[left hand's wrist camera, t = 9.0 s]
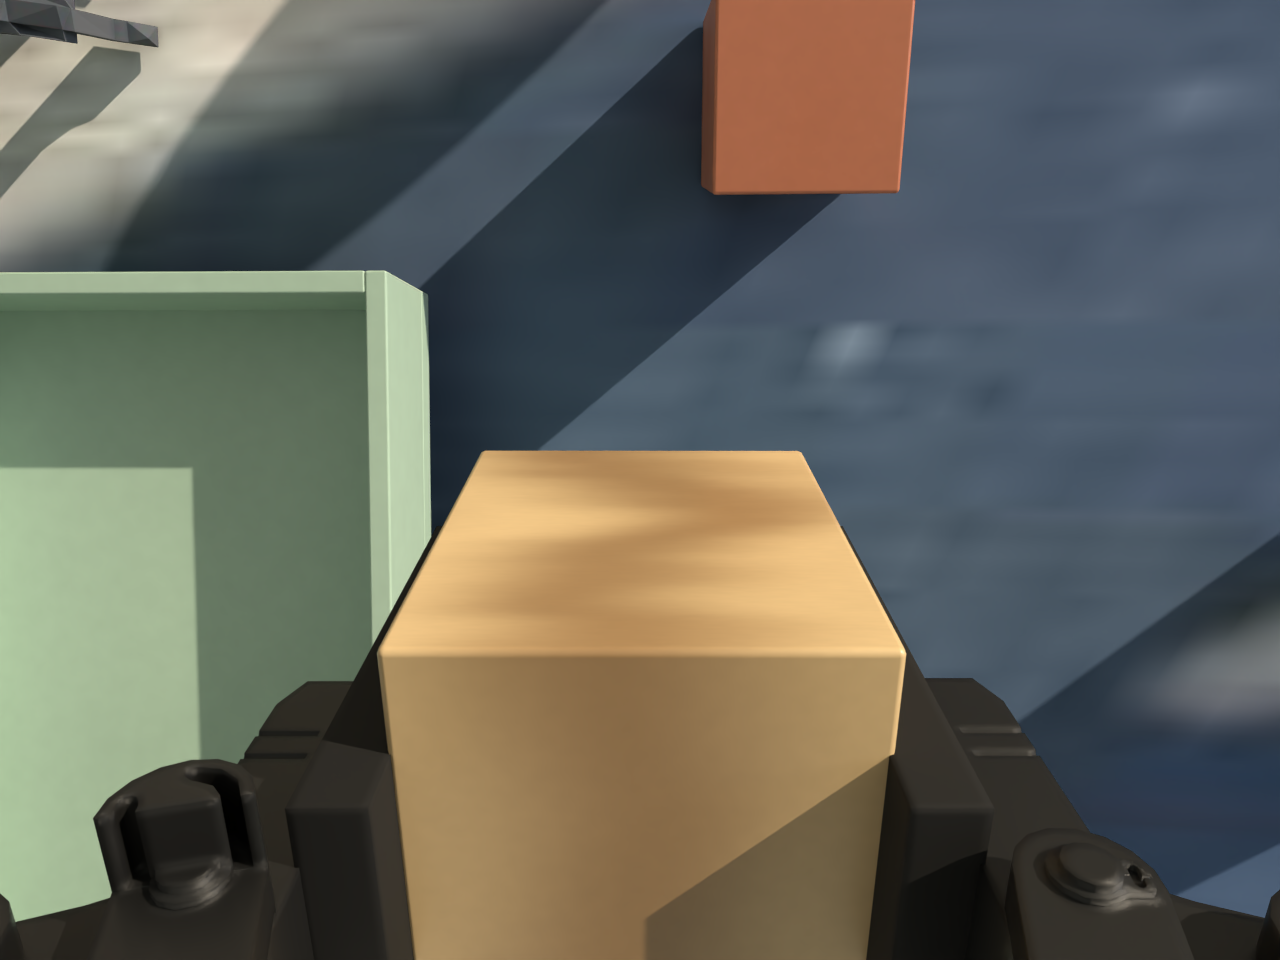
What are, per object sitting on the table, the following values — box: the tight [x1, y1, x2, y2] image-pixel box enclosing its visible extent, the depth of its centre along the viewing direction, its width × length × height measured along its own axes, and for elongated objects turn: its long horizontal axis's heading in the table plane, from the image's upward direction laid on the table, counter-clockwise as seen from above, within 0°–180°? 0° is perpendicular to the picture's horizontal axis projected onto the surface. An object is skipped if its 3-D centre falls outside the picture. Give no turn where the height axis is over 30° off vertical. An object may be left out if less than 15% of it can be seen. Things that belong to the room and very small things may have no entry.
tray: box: [0, 271, 431, 922], centre depth 25 cm, size 15×28×9 cm, turn 0°
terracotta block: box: [701, 0, 915, 195], centre depth 26 cm, size 5×5×6 cm
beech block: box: [377, 451, 906, 960], centre depth 12 cm, size 5×5×6 cm
